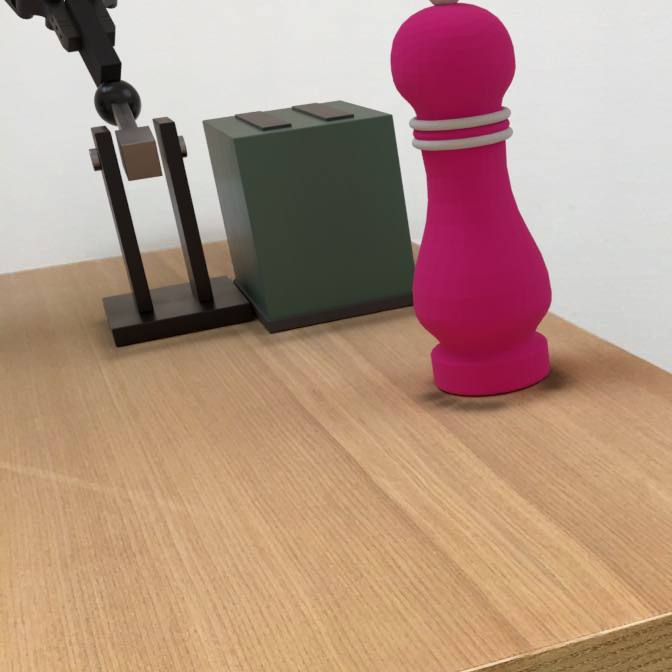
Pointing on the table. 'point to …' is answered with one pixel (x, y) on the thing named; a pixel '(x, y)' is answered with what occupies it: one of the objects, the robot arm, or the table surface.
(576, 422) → the table surface
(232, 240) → the toaster
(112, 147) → the bracket
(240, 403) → the table surface
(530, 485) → the table surface
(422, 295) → the pepper mill
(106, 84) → the lever
